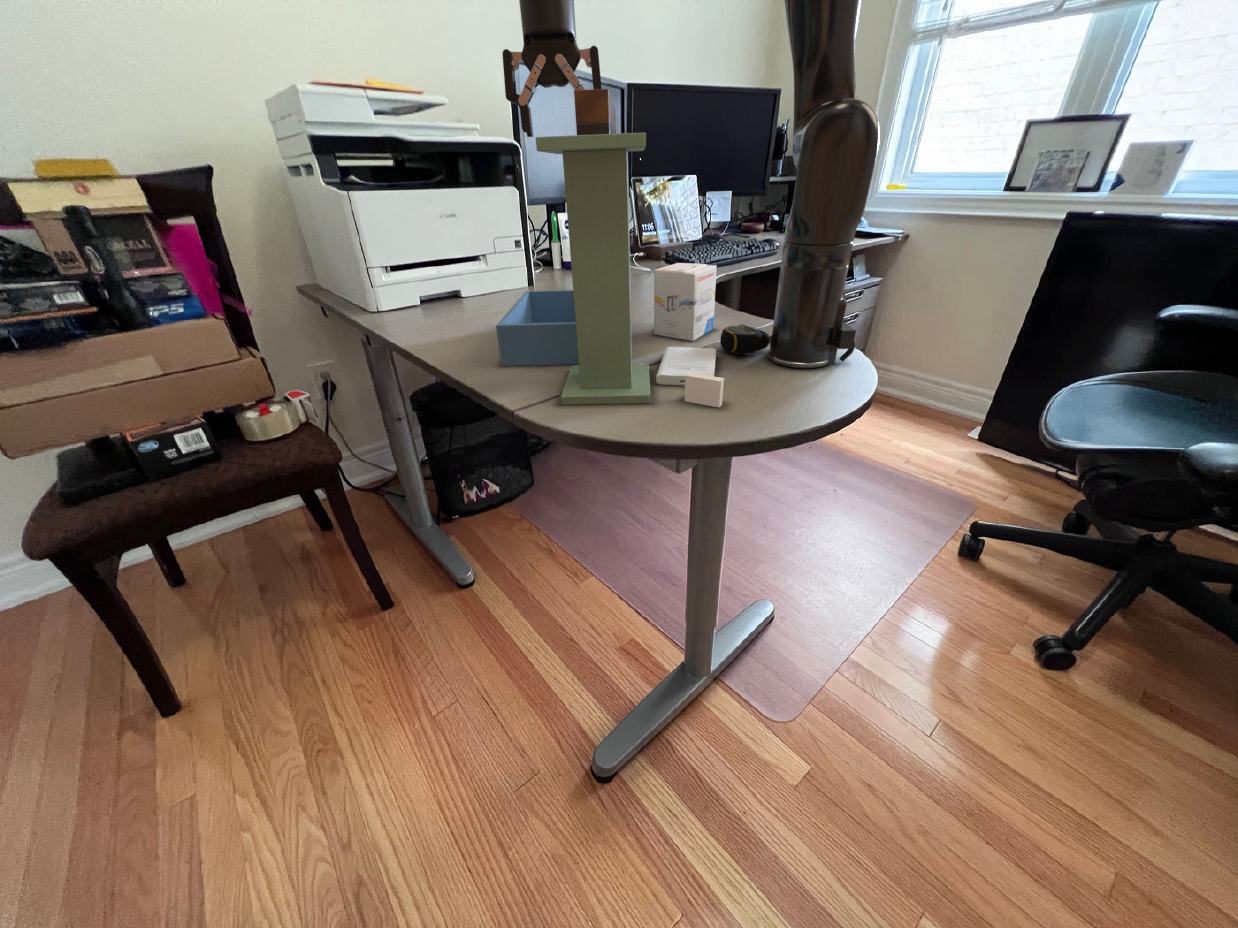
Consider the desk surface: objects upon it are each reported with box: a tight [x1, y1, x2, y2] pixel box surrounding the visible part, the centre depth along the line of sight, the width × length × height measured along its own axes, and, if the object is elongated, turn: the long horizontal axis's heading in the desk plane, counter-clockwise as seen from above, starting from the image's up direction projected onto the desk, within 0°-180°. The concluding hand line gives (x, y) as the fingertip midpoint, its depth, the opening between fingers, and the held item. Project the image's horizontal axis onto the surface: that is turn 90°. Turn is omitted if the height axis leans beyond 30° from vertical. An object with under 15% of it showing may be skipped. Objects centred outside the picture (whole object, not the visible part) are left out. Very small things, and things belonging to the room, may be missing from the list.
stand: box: [535, 132, 651, 406], centre depth 63 cm, size 12×16×30 cm
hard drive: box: [655, 346, 717, 387], centre depth 75 cm, size 2×8×12 cm
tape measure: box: [719, 324, 770, 356], centre depth 81 cm, size 7×7×4 cm
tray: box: [495, 289, 579, 367], centre depth 88 cm, size 14×25×7 cm, turn 178°
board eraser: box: [573, 88, 617, 135], centre depth 59 cm, size 4×20×4 cm, turn 178°
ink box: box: [653, 262, 717, 342], centre depth 89 cm, size 9×8×12 cm
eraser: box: [684, 373, 725, 409], centre depth 64 cm, size 1×5×4 cm, turn 61°
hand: (557, 136), depth 76 cm, fingers open, 8 cm apart
